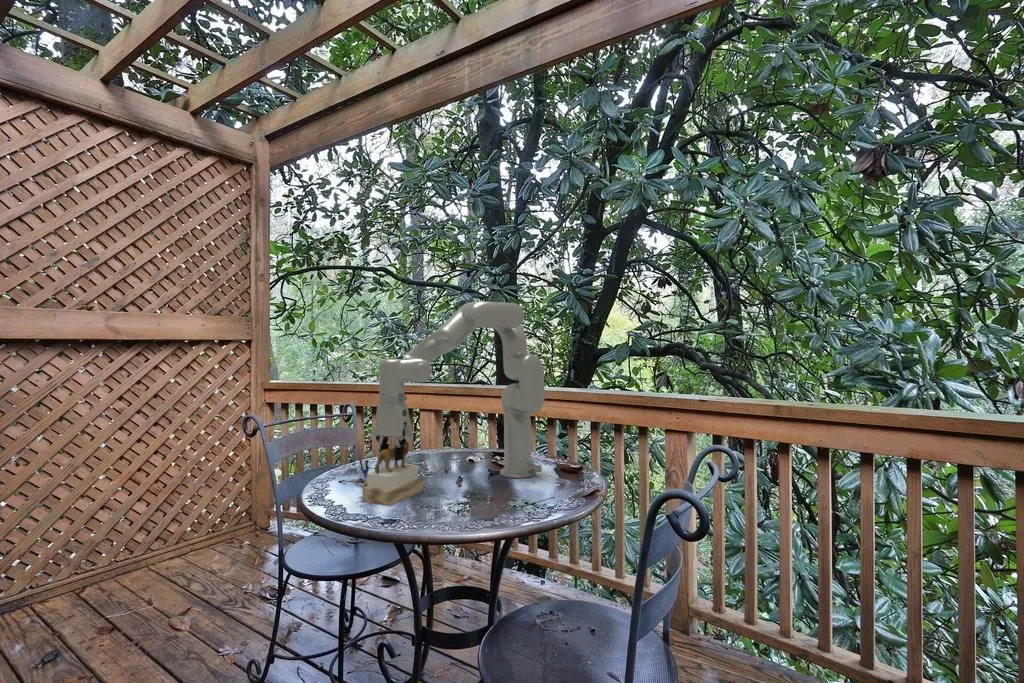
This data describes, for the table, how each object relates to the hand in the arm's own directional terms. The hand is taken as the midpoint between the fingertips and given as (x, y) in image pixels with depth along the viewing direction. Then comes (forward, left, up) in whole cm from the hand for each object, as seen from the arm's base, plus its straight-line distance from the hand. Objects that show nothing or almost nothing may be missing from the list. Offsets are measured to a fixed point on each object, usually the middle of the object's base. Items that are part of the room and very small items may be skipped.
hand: (391, 458), depth 158 cm
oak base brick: (0, 0, -11) cm, 12 cm away
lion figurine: (0, -1, -4) cm, 4 cm away
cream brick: (0, 0, -7) cm, 8 cm away
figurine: (+19, -8, -12) cm, 24 cm away
